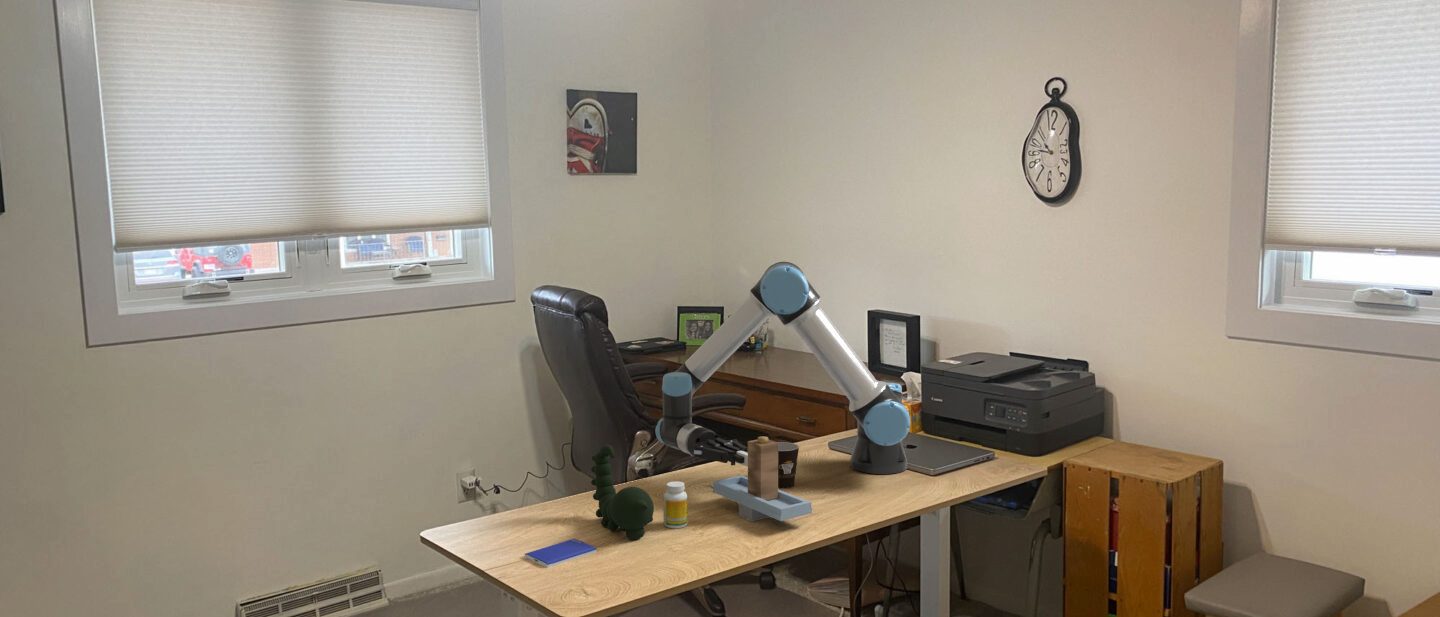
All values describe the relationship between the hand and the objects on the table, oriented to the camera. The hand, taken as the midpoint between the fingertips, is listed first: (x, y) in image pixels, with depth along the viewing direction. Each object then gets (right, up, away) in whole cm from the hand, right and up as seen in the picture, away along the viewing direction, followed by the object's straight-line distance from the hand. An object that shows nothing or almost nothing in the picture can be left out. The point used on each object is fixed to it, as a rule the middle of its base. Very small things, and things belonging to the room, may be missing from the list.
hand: (755, 462), depth 240 cm
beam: (+1, -12, 0) cm, 12 cm away
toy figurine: (-30, -14, -10) cm, 34 cm away
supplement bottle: (-18, -13, -7) cm, 24 cm away
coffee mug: (+6, -9, +23) cm, 26 cm away
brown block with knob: (+2, -8, -1) cm, 8 cm away
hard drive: (-41, -16, -25) cm, 51 cm away
